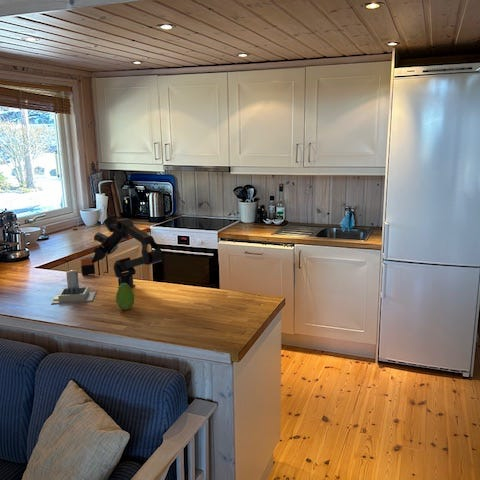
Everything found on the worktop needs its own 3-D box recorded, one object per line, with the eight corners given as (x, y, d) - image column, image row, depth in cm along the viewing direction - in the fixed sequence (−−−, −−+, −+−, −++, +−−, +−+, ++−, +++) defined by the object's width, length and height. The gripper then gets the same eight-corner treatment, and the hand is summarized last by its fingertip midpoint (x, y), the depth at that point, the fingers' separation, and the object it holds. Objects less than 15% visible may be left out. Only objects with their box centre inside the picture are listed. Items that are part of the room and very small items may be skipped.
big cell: (80, 295, 229) (78, 268, 226) (78, 298, 224) (76, 271, 221) (69, 295, 228) (67, 269, 226) (67, 299, 223) (65, 272, 221)
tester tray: (95, 292, 234) (95, 285, 233) (92, 301, 221) (91, 294, 221) (57, 295, 231) (56, 288, 231) (51, 304, 219) (50, 296, 218)
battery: (95, 274, 267) (93, 256, 265) (82, 275, 264) (80, 258, 262) (94, 272, 271) (92, 255, 269) (81, 273, 268) (80, 256, 266)
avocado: (125, 313, 205) (123, 286, 203) (112, 310, 209) (110, 283, 207) (139, 307, 212) (137, 281, 209) (126, 304, 216) (124, 279, 213)
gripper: (110, 224, 247) (91, 245, 250) (95, 231, 229) (75, 253, 232) (126, 239, 248) (107, 259, 251) (113, 247, 230) (92, 269, 233)
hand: (95, 260), depth 242 cm, fingers open, 9 cm apart
